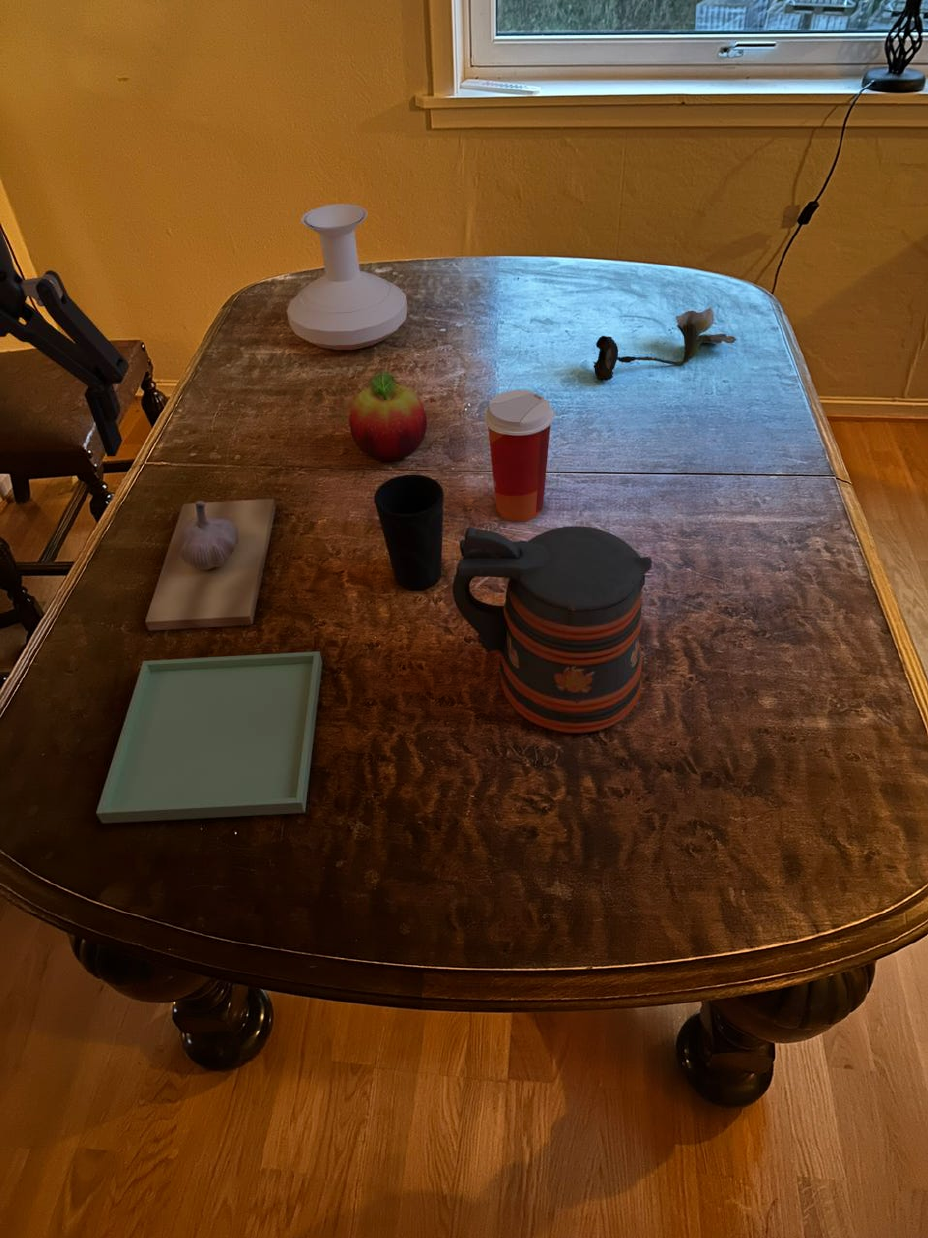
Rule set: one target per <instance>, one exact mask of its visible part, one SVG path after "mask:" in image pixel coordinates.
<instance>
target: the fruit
mask: <svg viewBox="0 0 928 1238" xmlns="http://www.w3.org/2000/svg"><path fill="white" fill-rule="evenodd" d="M370 385H371V386H369V387H367V388H365V389H363V390H362V391H360V392H359V393H357V395H356V396H355V397H354V400H353V402H352V404H351V406H350V407H351V408H350V412H349V418H348V422H349V423H348V424H349V430H350V435H351V437H352V439H353V442H354V444H356V446H357V447H358V448H359V449H360V450H361V451H362V452H363V454H365V455H367V456H369V457H370V458H373V459H374V460H379V461H382V462H393V461H394V462H395V461H400V460H403V459H405V458H407V457H408V456H410V455H412V454H413V453H414V452H415V451H416V450H417V449H418V448H419V447H420V446H421V445H422V443H423V441H424V439H425V436H426V433H427V428H428V417H427V415H426V414H427V413H426V411H425V408H424V407H425V406H424V405H423V402H422V401H421V399H420V397H419V396H418V394H417V393H416V392H415V391H413V390H412V389H410V388H408V387H407V386H404V385H402V384H398V383H395V377H394V376H393V375H391V374H389V373H388V372H386V371H385V370H383V371H381V372H380V373H378V374H377V375H375V376H373V377H372V378H371V380H370Z"/></svg>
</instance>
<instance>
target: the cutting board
mask: <svg viewBox="0 0 928 1238" xmlns="http://www.w3.org/2000/svg"><path fill="white" fill-rule="evenodd" d="M204 503H205V516H210V517H213V518H219V519H227V520H229V521H231V522H232V523H234V524H235V526H236V527H237V530H238V543H237V545H236V546H235V547H234V550H233V552H232V554H231V555H230V556H229V558H228V560H227V562H226V563H225V564H224V565H222V566H220V567H213V568H211V569H208V570H200V569H196V568H194V567H193V566H191V565H188V564H187V563H185V562H184V560H183V559H182V557H181V554H180V550H181V546H180V535H181V532H182V531H183V529H184V528H185V527H186V526H187V524H188V522H189V521H190V520H191V519H193V518H196V517H197V510H196V502H192V503H183V504H182V506H181V509H180V511H179V514H178V515H179V516H178V518H177V522H176V525H175V528H174V530H173V534H172V537H171V540H170V543H169V547H168V549H167V552H166V556H165V559H164V562H163V565H162V568H161V571H160V574H159V577H158V580H157V583H156V586H155V590H154V593H153V595H152V599H151V601H150V604H149V608H148V612H147V615H146V617H145V621H144V623H145V625H146V628H147V630H148V631H150V632H151V631H166V630H184V629H186V630H187V629H203V628H206V629H207V628H220V627H221V628H222V627H239V626H240V627H241V626H253V623H254V619H255V614H256V609H257V603H258V599H259V594H260V589H261V583H262V579H263V578H262V577H263V573H264V569H265V564H266V558H267V554H268V548H269V543H270V538H271V533H272V529H273V523H274V518H275V514H276V510H277V509H276V508H277V506H276V502H275V499H274V498H263V499H262V498H260V499H244V500H226V501H211V502H209V501H208V502H204Z"/></svg>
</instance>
